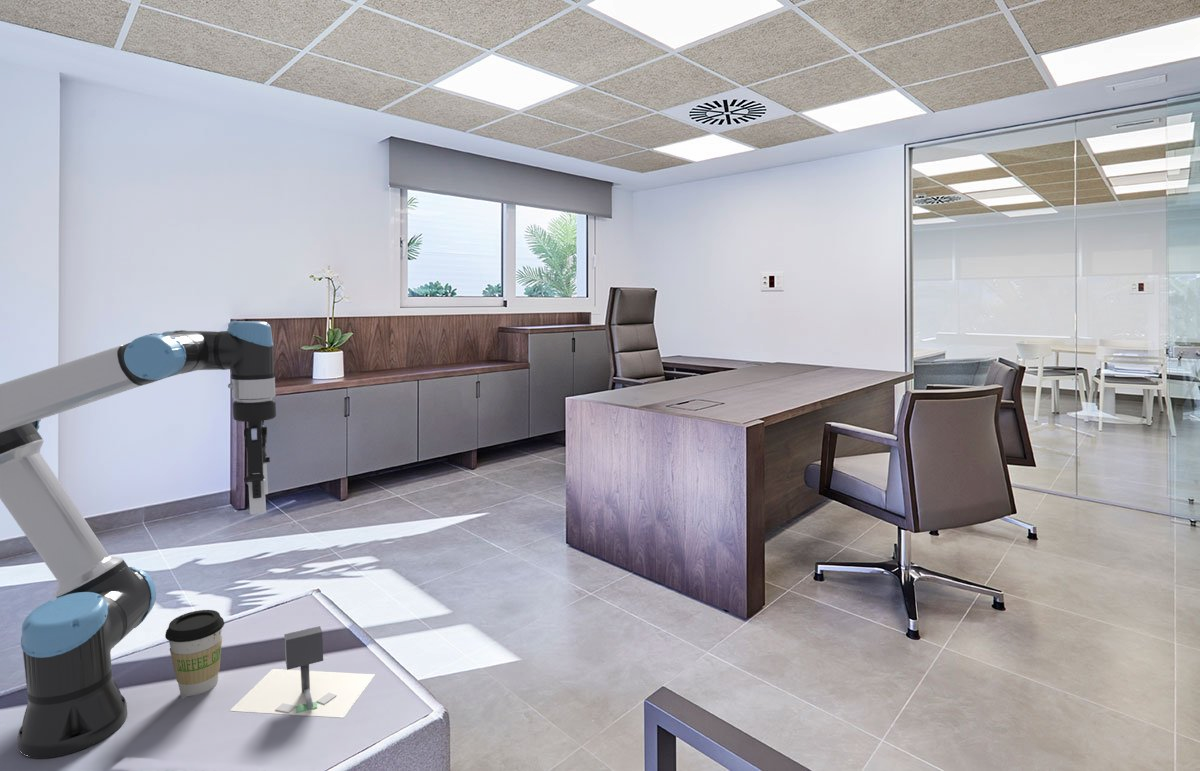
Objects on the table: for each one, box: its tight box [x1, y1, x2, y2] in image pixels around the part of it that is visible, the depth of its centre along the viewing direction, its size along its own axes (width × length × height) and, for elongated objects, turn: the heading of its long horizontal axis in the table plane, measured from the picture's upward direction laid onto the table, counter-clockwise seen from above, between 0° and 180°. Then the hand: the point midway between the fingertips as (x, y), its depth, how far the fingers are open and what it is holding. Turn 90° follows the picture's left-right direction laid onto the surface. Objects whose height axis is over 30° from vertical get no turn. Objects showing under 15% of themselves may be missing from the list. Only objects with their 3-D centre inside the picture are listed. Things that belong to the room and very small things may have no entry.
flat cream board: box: [229, 668, 376, 719], centre depth 125 cm, size 22×14×1 cm, turn 86°
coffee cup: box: [164, 609, 225, 700], centre depth 126 cm, size 10×10×15 cm
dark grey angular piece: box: [283, 626, 324, 709], centre depth 122 cm, size 8×6×12 cm
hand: (259, 503), depth 129 cm, fingers open, 13 cm apart
